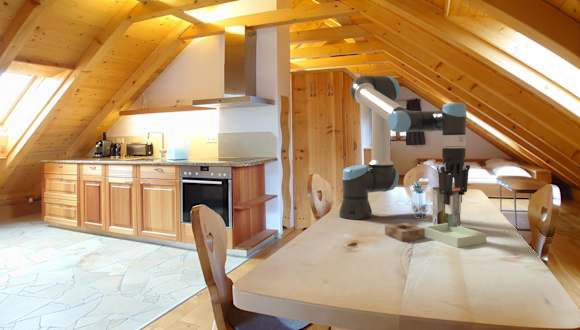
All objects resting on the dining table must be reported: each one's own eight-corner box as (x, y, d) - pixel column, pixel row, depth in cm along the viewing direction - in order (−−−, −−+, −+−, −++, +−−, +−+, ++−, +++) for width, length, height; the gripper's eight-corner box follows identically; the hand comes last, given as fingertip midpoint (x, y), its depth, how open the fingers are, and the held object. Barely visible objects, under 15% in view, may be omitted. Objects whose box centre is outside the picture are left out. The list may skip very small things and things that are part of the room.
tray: (421, 234, 136) (421, 226, 136) (447, 230, 141) (448, 222, 140) (457, 247, 120) (457, 238, 120) (485, 242, 125) (486, 233, 125)
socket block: (384, 234, 137) (384, 225, 137) (406, 231, 141) (406, 222, 140) (402, 241, 128) (402, 232, 128) (424, 238, 132) (424, 228, 131)
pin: (443, 225, 131) (443, 187, 130) (452, 224, 133) (453, 186, 132) (453, 228, 127) (453, 188, 126) (462, 226, 129) (463, 187, 128)
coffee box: (454, 225, 148) (455, 186, 147) (460, 229, 142) (461, 189, 141) (431, 225, 149) (432, 186, 148) (436, 229, 143) (437, 189, 141)
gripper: (444, 148, 121) (443, 217, 123) (479, 146, 127) (478, 212, 129) (427, 147, 128) (427, 213, 130) (462, 146, 134) (461, 209, 136)
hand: (452, 212), depth 130 cm, fingers closed on pin, 3 cm apart
